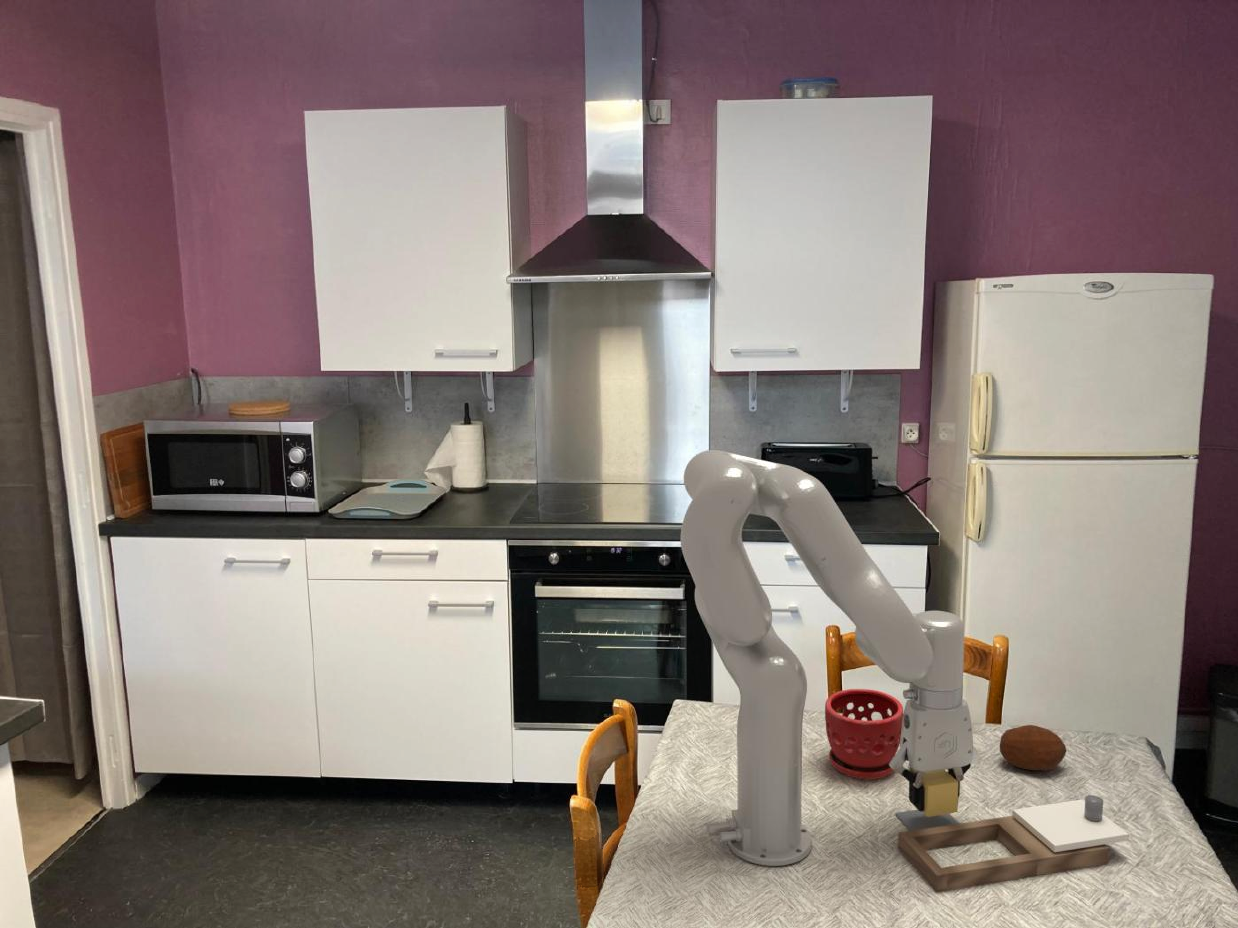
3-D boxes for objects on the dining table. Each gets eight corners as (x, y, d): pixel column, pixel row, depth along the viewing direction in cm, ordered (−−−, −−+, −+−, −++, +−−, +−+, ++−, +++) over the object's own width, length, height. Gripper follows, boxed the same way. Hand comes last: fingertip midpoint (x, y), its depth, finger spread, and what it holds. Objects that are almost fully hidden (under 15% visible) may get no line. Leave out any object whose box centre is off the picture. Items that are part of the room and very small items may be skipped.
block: (927, 816, 147) (928, 786, 146) (911, 800, 152) (911, 770, 151) (957, 811, 148) (958, 781, 147) (940, 795, 153) (940, 766, 152)
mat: (920, 842, 146) (920, 839, 146) (895, 814, 153) (895, 812, 153) (969, 835, 147) (969, 832, 147) (941, 808, 155) (941, 805, 155)
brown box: (936, 891, 134) (937, 875, 133) (898, 847, 144) (898, 832, 144) (1108, 863, 139) (1109, 847, 139) (1058, 823, 150) (1059, 808, 149)
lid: (1054, 852, 138) (1056, 826, 137) (1012, 815, 147) (1013, 791, 146) (1128, 840, 140) (1130, 814, 139) (1082, 805, 150) (1083, 781, 149)
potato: (991, 754, 172) (993, 715, 171) (1054, 755, 171) (1056, 715, 170) (1006, 778, 164) (1008, 736, 163) (1072, 779, 163) (1075, 737, 162)
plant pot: (812, 754, 174) (813, 691, 172) (880, 746, 176) (882, 684, 174) (842, 790, 161) (844, 723, 159) (916, 781, 164) (918, 714, 162)
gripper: (896, 710, 141) (895, 825, 145) (1001, 696, 145) (997, 808, 148) (872, 690, 149) (871, 799, 152) (973, 677, 152) (970, 784, 155)
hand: (934, 802), depth 150 cm, fingers closed on block, 5 cm apart
